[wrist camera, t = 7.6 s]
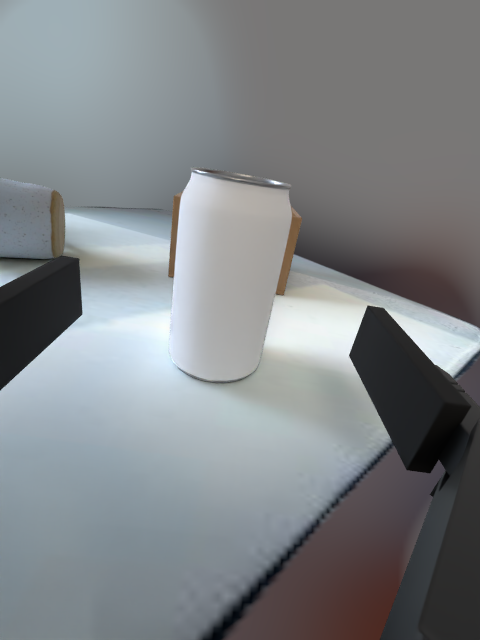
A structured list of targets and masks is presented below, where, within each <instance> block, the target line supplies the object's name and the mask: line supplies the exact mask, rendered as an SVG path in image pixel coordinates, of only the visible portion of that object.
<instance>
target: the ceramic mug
mask: <svg viewBox="0 0 480 640" xmlns="http://www.w3.org/2000/svg"><path fill="white" fill-rule="evenodd" d="M64 242H65V212H64V204H63V198H62V196H61V195H60V194H59V193H58V192H57V191H55V190H52V189H49V188H46V187H44V186H39V185H34V184H29V183H23V182H17V181H12V180H8V179H2V178H0V257H16V258H33V259H50V258H57V257H59V256H60V255H61V254H62V253H63V250H64Z"/></svg>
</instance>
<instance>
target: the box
mask: <svg viewBox="0 0 480 640" xmlns="http://www.w3.org/2000/svg"><path fill="white" fill-rule="evenodd" d="M182 193H183V192H181V193H179V194H177V195H175V196H174V201H173V215H172V230H171V244H170V259H169V274H168V276H169V277H174V270H175V257H176V244H177V232H178V220H179V209H180V200H181V196H182ZM290 206H291V205H290ZM291 211H292V220H291V225H290V231H289V235H288V240H287V244H286V249H285V253H284V258H283V262H282V267H281V271H280V276H279V280H278V285H277V289H276V293H275V294H280V295H284V292H285V287H286V283H287V279H288V275H289V271H290V267H291V262H292V258H293V254H294V250H295V246H296V241H297V237H298V233H299V229H300V225H301V221H302V218H301V217H300V215H299V214H298V213H297V212H296V211H295V210H294V209H293V208H292V207H291Z"/></svg>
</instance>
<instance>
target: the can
mask: <svg viewBox="0 0 480 640" xmlns="http://www.w3.org/2000/svg"><path fill="white" fill-rule="evenodd" d="M190 170H191V171H192V175H191V179H190V181H189V183H188V184H187V186H186V188H185V190H184V191H183V193H182V196H181V200H180V209H179V220H178V232H177V244H176V257H175V270H174V283H173V297H172V310H171V324H170V339H169V354H170V357H171V359H172V361H173V362H174V363H175V364H176V365H177V367H178V368H179V369H180V370H182V371H183V372H184V373H186V374H187V375H189V376H191V377H194V378H196V379H199V380H203V381H207V382H215V383H226V382H233V381H237V380H240V379H242V378H244V377H246V376H247V375H249V374H251V373H252V372H254V371H255V370H256V368H257V367H258V365H259V362H260V358H261V354H262V350H263V346H264V341H265V337H266V333H267V328H268V324H269V320H270V315H271V311H272V307H273V302H274V298H275V293H276V289H277V285H278V280H279V276H280V271H281V267H282V262H283V258H284V253H285V249H286V244H287V240H288V235H289V231H290V225H291V220H292V211H291V206H290V201H289V189H290V188H291V185H290V184H287V183H283V182H279V181H275V180H270V179H266V178H261V177H255V176H250V175H244V174H239V173H233V172H227V171H221V170H214V169H207V168H198V167H192V168H191V169H190Z"/></svg>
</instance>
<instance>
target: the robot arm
mask: <svg viewBox="0 0 480 640" xmlns="http://www.w3.org/2000/svg"><path fill="white" fill-rule="evenodd" d="M81 315H82V300H81V283H80V267H79V258H73V257H66V256H60V257H58V258H56V259H54V260H52V261H50V262H48V263H46V264H44V265H42V266H40V267H38V268H36V269H34V270H33V271H31V272H29V273H27V274H25V275H23V276H21V277H19V278H17V279H15V280H13V281H11V282H9V283H7V284H5V285H3V286H1V287H0V390H1V389H2V388H3V387H4V386H6V385H7V384H8V383H9V382H10V381H11V380H12V379H13V378H14V377H15V376H16V375H17V374H18V373H20V372H21V371H22V370H23V369H24V368H25V367H26V366H27V365H28V364H29V363H30V362H31V361H33V360H34V359H35V358H36V357H37V356H38V355H39V354H40V353H41V352H42V351H43V350H44V349H45V348H47V347H48V346H49V345H50V344H51V343H52V342H53V341H54V340H55V339H56V338H57V337H58V336H60V335H61V334H62V333H63V332H64V331H65V330H66V329H67V328H68V327H69V326H70V325H71V324H72V323H74V322H75V321H76V320H77V319H78V318H79V317H80V316H81ZM349 356H350V358H351V360H352V362H353V364H354V366H355V368H356V370H357V372H358V374H359V376H360V378H361V380H362V382H363V384H364V386H365V388H366V390H367V392H368V394H369V396H370V398H371V400H372V402H373V404H374V406H375V408H376V410H377V412H378V414H379V416H380V418H381V420H382V422H383V424H384V426H385V428H386V430H387V432H388V434H389V436H390V438H391V440H392V442H393V444H394V446H395V448H396V449H397V451H398V454H399V455H400V458H401V459H402V461H403V463H404V465H405V467H406V469H407V470H410V471H417V472H426V473H431V471H432V470H433V468H434V466H435V464H436V463H437V461H438V460H440V462H441V463H442V465H443V466H444V468H445V470H446V471H445V472H444V474H443V475H442V477H441V478H440V480H439V481H438V483H437V484H436V486H435V487H434V489H433V491H432V492H431V494H430V495H431V496H433V499H432V502H431V505H430V507H429V510H428V513H427V515H426V518H425V521H424V523H423V526H422V529H421V531H420V534H419V537H418V540H417V542H416V545H415V548H414V550H413V553H412V555H411V558H410V561H409V563H408V566H407V569H406V571H405V574H404V577H403V579H402V582H401V585H400V587H399V590H398V593H397V595H396V598H395V601H394V603H393V606H392V609H391V611H390V614H389V617H388V619H387V622H386V625H385V627H384V630H383V633H382V635H381V638H380V640H480V407H479V406H478V405H477V404H476V403H475V402H474V401H473V399H472V398H471V397H470V396H469V395H468V394H467V393H465V391H464V390H463V389H462V387H461V386H460V385H458V383H457V382H456V381H455V380H454V379H453V378H452V377H451V376H450V374H448V373H447V372H445V371H444V370H443V369H441V368H440V367H438V366H437V365H434V364H433V363H432V361H431V360H430V359H429V358H428V357H427V356H426V355H425V354H424V353H423V351H422V350H421V349H420V348H419V347H418V346H417V345H416V344H415V343H414V341H413V340H412V339H411V338H410V337H409V336H408V335H407V334H406V332H405V331H404V330H403V329H402V328H401V327H400V326H399V325H398V324H397V322H396V321H395V320H394V319H393V318H392V317H391V316H390V315H389V314H388V312H387V311H386V310H385V309H384V308H380V307H373V306H367V308H366V311H365V314H364V317H363V319H362V322H361V325H360V327H359V330H358V333H357V336H356V338H355V341H354V344H353V346H352V349H351V352H350V355H349Z"/></svg>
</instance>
